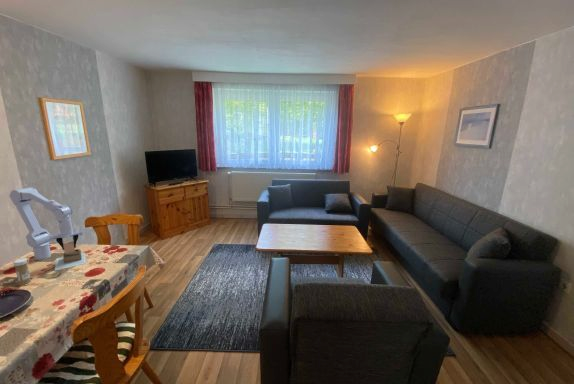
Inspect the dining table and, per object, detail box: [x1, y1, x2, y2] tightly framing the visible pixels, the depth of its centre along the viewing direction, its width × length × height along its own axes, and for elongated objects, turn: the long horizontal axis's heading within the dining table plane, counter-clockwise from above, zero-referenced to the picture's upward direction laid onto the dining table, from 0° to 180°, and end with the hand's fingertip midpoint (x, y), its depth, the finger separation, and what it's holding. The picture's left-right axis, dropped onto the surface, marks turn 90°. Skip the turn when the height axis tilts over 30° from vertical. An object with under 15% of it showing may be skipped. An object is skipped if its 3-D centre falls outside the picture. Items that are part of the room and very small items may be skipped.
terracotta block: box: [63, 240, 76, 254], centre depth 150 cm, size 5×5×5 cm
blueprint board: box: [54, 252, 87, 271], centre depth 151 cm, size 17×14×1 cm
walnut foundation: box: [62, 248, 82, 263], centre depth 153 cm, size 8×8×4 cm
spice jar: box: [13, 258, 31, 287], centre depth 127 cm, size 5×5×13 cm
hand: (69, 248), depth 151 cm, fingers closed on terracotta block, 5 cm apart
